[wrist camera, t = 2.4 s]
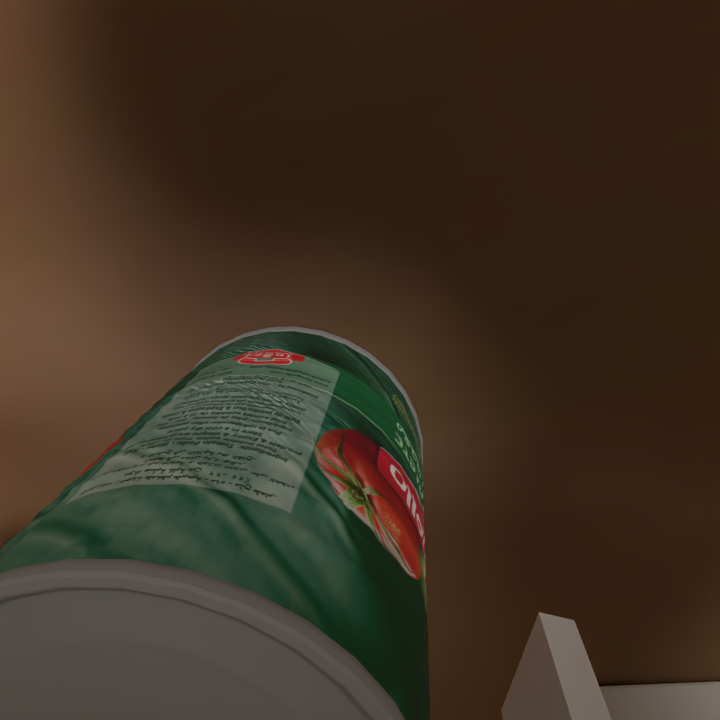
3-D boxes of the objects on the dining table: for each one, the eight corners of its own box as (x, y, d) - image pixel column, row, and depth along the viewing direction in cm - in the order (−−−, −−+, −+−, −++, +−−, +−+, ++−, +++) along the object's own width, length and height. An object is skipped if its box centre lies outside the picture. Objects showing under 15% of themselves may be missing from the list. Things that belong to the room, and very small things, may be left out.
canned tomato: (122, 396, 18) (-259, 698, 8) (343, 277, 17) (223, 466, 6) (256, 590, 20) (88, 1042, 10) (468, 501, 18) (537, 937, 8)
